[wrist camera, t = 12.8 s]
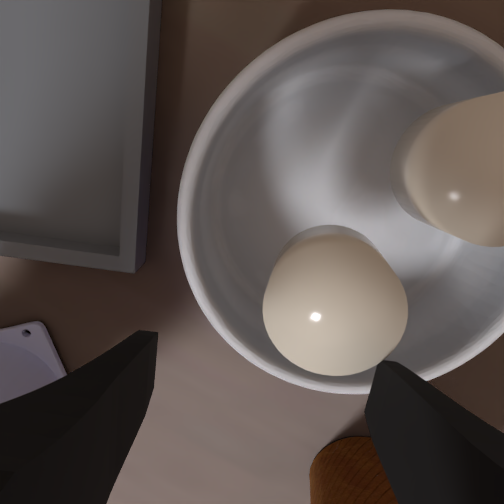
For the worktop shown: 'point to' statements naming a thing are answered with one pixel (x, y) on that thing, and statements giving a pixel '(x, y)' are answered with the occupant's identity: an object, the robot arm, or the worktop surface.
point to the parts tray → (77, 129)
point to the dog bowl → (338, 184)
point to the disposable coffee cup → (350, 474)
